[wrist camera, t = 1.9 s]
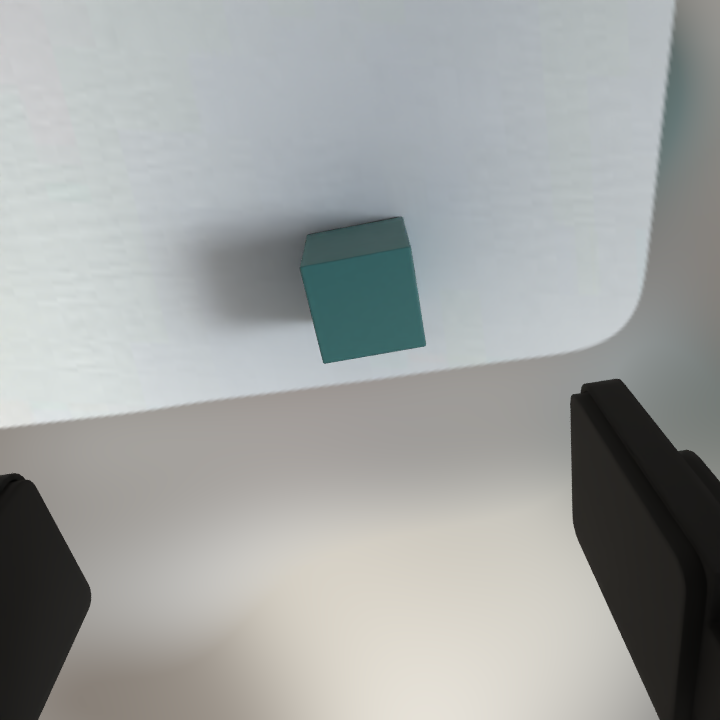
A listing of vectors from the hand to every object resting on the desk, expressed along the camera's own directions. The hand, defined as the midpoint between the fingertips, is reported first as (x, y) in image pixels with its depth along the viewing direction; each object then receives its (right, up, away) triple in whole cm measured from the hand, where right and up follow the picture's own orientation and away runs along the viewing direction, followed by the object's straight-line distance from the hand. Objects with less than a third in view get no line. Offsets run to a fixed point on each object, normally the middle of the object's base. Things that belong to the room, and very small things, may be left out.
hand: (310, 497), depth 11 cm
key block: (+1, +7, +18) cm, 19 cm away
